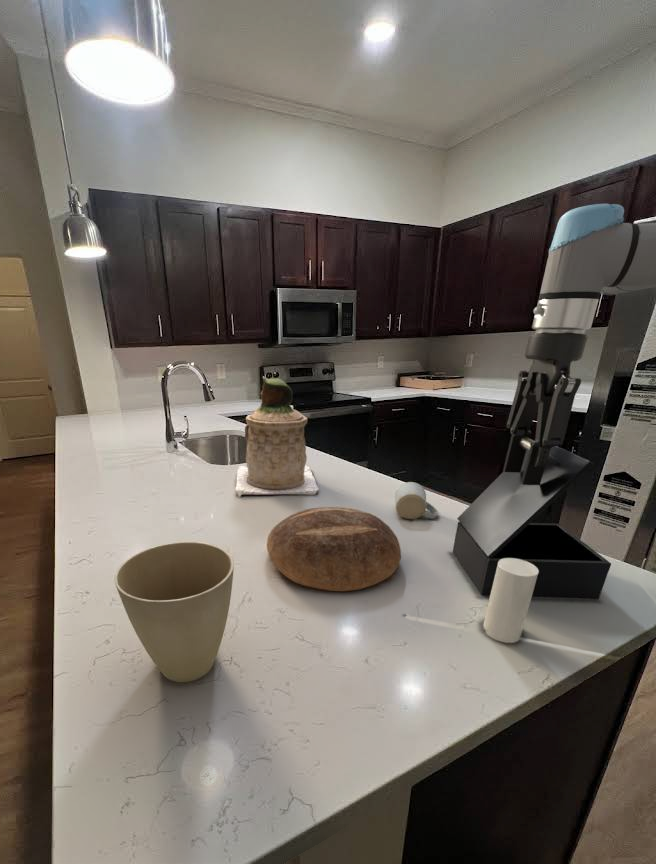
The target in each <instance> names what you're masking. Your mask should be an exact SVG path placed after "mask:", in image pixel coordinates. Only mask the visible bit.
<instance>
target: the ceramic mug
mask: <svg viewBox="0 0 656 864" xmlns="http://www.w3.org/2000/svg"><path fill="white" fill-rule="evenodd" d="M394 502H395V510H396V512H397V514H398V515H399V516H400V517H401V518H403V519H406V520H414V519H415V520H417V519H419V518H421V517H422V516H423V517H425V518H427V519H429V520H434V519H436V518H437V517H438V515H439V511H438V509H437V508H436V507H435V506H434V505H432V504H431V503H429V501H427V494H426V490H425V488H424V487H423V486H422V485H421V484H419V483H417V482H415V481H414V482H413V481H408V482H407V481H406V482H403V483H401V484H400V485H399V486H398V487H397V489H396V490H395V493H394Z"/></svg>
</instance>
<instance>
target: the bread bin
mask: <svg viewBox="0 0 656 864" xmlns="http://www.w3.org/2000/svg"><path fill="white" fill-rule="evenodd" d="M452 555H454V557H455V558H456V560H457V561H458V563H459V565H460V566H461V568H462V569H463V571H464V572H465V573H466V575H467V576H468V578H469V579H470V581H471V582H472V584H473V585H474V587H475V589H476V590H477V591H478V593H479V595H480V596H486V597H487V596H489V597H490V594H491V590H492V586H493V581H494V577H495V573H496V569H497V564H498V561H499V560H501V559H503V558H516V559H521V560H524V561H527V562H529V563H531V564H533V565H534V566H536V567H537V568H538V570H539V573H538V577H537V580H536V584H535V587H534V591H533V595H532V598H546V599H547V598H549V599H553V598H554V599H580V600H581V599H583V600H584V599H585V600H599V599H600V596H601V594H602V591H603V589H604V585H605V583H606V580H607V577H608V574H609V571H610V568H611V566H612V563H611V562H610V561H609V560H607V559H606V558H605V557H603V555H601V554H600V553H598V552H597V551H596V550H594V549H593V548H592V547H591V546H589V545H588V544H587V543H585V542H584V541H583V540H581V539H580V538H579V537H577V536H576V535H575V534H574V533H572V532H571V531H569V529H567V528H565V527H564V526H562V525H561V524H560V523H543V522H540V523H539V522H537V523H536V522H531V523H530V524H529V525H528V526H527V527H525V528H524V529H523V530H522V531H521V532H520V533H519V534H518V535H517V536H516V537H515V538H514V539H512V540H511V541H510V542H509V543H508V544H507V545H506V546H505V547H504V548H503V549H502V550H501V551H499V552H498V553H497V554H496V555H495V556H494V557H493V558H492V559H490V558H489V557H488V556H487V555H486V554H485V553H484V551H483V550H482V549H481V548H480V546H479V545H478V544H477V543H476V541H475V540H474V539H473V538H472V537H471V535H470V534H469V533H468V532H467V530H466V529H465V528H464V527H463V525H462V524H461V523H460V522H459V521H457V525H456V531H455V536H454V542H453V547H452Z"/></svg>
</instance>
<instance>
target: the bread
mask: <svg viewBox="0 0 656 864" xmlns="http://www.w3.org/2000/svg"><path fill="white" fill-rule="evenodd" d="M266 549H267V553H268V556H269V559H270V561H271V563H272V565H273V567H275V568H276V569H277V570H278V571H279V572H280V573H281V575H284V576H285V577H286V578H287V579H288V580H290V581H292V582H294V583H296V584H298V585H301V586H304V587H308V588H312V589H318V590H323V591H331V592H349V591H351V592H352V591H358V590H361V589H366V588H368V587H372V586H374V585H376V584H379V583H381V582H383V581H384V580H386V579H388V578H390V577H391V576H392V575H393V574H394V573H395V572H396V570H397V568H398V566H399V564H400V561H401V559H402V554H401V553H402V552H401V551H402V550H401V544H400V542H399V539H398V537H397V535H396V534H395V532H394V531H393V530H392V528H391V527H390V525H388V524H387V523H386V522H384V521H383V520H382V519H381V518H379V517H377V516H376V515H374V514H372V513H370V512H366V511H363V510H359V509H356V508H355V509H354V508H349V507H338V506H337V507H334V506H325V507H321V506H320V507H314V508H308V509H304V510H300V511H298V512H296V513H293V514H291V515H289V516H287V517H286V518H283V520H281V521H279V522H278V523H277V524H276V525H275V526H274V527H272V528H271V530H270V532H269V534H268V536H267V539H266Z"/></svg>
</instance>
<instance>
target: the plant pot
mask: <svg viewBox="0 0 656 864" xmlns="http://www.w3.org/2000/svg"><path fill="white" fill-rule="evenodd" d="M234 568H235V561H234V558H233V556H232V555H231V554H230V553H229V552H228V551H227V550H226V549H224V548H222V547H220V546H218V545H215V544H213V543H208V542H202V541H178V542H177V541H175V542H169V543H164V544H159V545H156V546H152V547H149V548H146V549H144V550H142V551H139V552H138V553H136V554H135V553H134V555H132V556H130V557H129V558H127V559H126V560H125V561H124V562H123V563H121V565H119V567H118V569H117V570H116V572H115V574H114V584H115V588H116V590H117V592H118V595H119V598H120V600H121V603H122V605H123V608H124V610H125V613H126V615H127V617H128V620H129V623H130V624H131V626H132V628H133V630H134V632H135V634H136V636H137V637H138V639H139V641H140V643H141V645H142V646H143V648H144V649H145V651H146V653H147V654H148V656H149V658H150V659H151V661H152V662H153V663H154V664H155V666H156V667H157V669H158V670H159V671H160V672H161V674H162V675H163V676H164V677H165V678H166V679H168V680H169V681H172V682H176V683H190V682H194V681H196V680H199V679H201V678H203V677H204V676H206V675H207V674H208V673H209V672H210V671H211V669H212V668H213V666H214V663H215V661H216V659H217V655H218V653H219V650H220V648H221V644H222V640H223V637H224V633H225V630H226V627H227V626H226V625H227V621H228V615H229V610H230V605H231V597H232V591H233V579H234Z"/></svg>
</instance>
